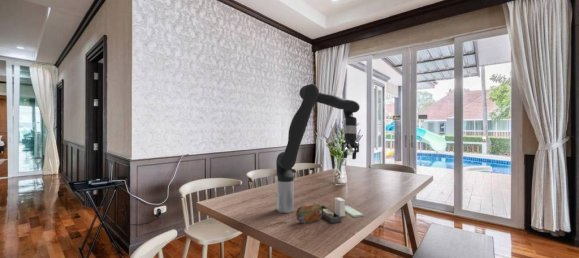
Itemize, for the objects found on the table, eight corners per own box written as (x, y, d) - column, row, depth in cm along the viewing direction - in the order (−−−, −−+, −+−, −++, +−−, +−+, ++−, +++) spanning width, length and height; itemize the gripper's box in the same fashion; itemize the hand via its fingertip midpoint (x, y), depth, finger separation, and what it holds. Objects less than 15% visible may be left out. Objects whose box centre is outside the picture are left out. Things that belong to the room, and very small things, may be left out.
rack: (331, 223, 122) (331, 218, 122) (315, 210, 141) (315, 206, 141) (341, 222, 124) (341, 217, 124) (323, 209, 142) (324, 205, 142)
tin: (298, 225, 120) (298, 207, 120) (295, 222, 123) (295, 205, 123) (323, 219, 127) (323, 203, 127) (320, 217, 129) (320, 201, 129)
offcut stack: (328, 220, 127) (328, 214, 127) (320, 213, 136) (320, 208, 136) (334, 219, 128) (334, 213, 128) (326, 213, 137) (326, 208, 137)
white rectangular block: (340, 216, 131) (340, 200, 131) (334, 213, 137) (334, 197, 137) (345, 216, 132) (345, 200, 132) (339, 212, 138) (339, 197, 138)
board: (354, 217, 130) (354, 215, 130) (339, 207, 146) (339, 206, 146) (363, 216, 132) (363, 214, 132) (347, 207, 147) (347, 205, 147)
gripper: (338, 132, 161) (337, 157, 160) (353, 132, 148) (352, 159, 147) (348, 133, 164) (347, 157, 163) (362, 133, 151) (361, 159, 150)
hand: (349, 158), depth 155 cm, fingers open, 8 cm apart
